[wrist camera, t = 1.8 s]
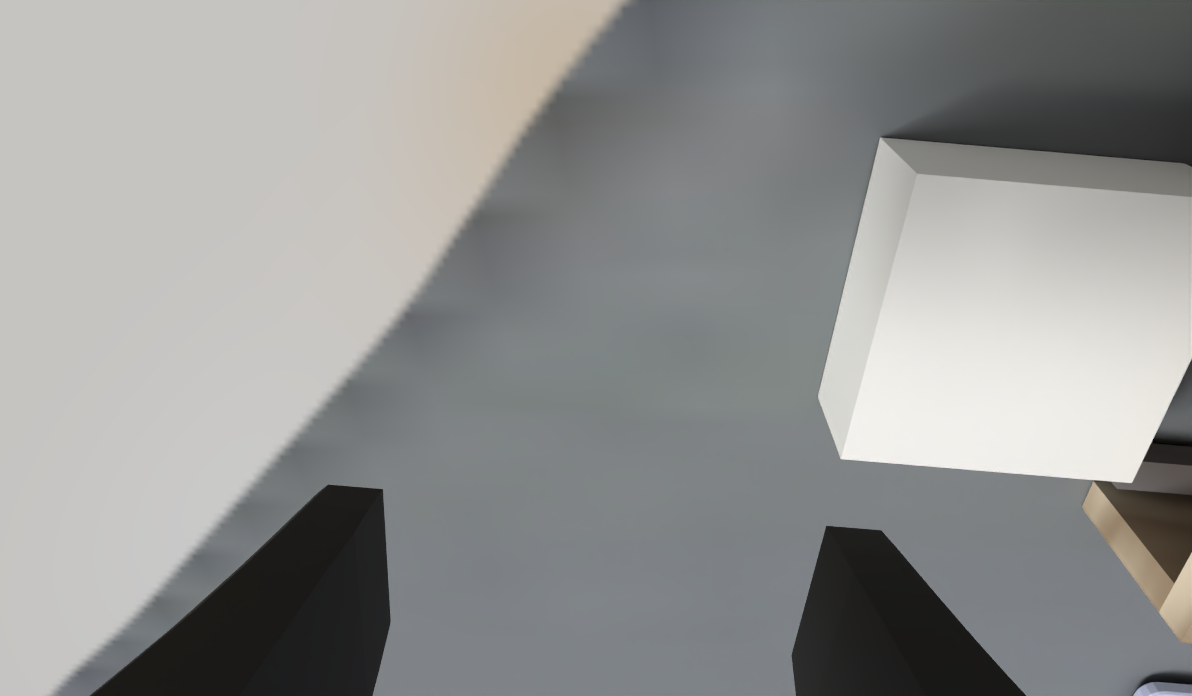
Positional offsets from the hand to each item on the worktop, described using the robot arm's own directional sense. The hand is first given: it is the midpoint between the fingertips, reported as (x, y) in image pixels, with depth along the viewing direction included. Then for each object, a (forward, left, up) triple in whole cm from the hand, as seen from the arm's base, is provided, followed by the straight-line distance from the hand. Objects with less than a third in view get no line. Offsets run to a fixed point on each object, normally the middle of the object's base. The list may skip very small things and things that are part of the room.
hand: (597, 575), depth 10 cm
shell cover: (0, -8, -9) cm, 12 cm away
